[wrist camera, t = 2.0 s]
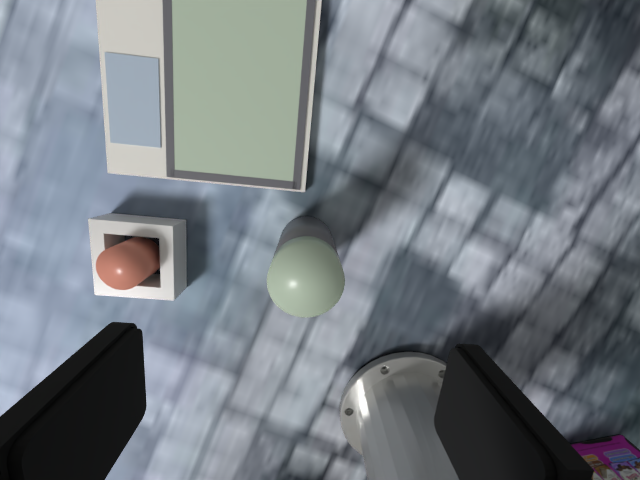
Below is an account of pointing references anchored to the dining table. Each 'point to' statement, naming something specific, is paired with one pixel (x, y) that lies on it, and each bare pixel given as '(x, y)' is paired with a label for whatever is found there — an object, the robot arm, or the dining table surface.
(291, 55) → the picture board
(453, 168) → the dining table surface
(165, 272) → the button housing
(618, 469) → the candy bar box
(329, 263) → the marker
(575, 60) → the dining table surface
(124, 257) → the button
